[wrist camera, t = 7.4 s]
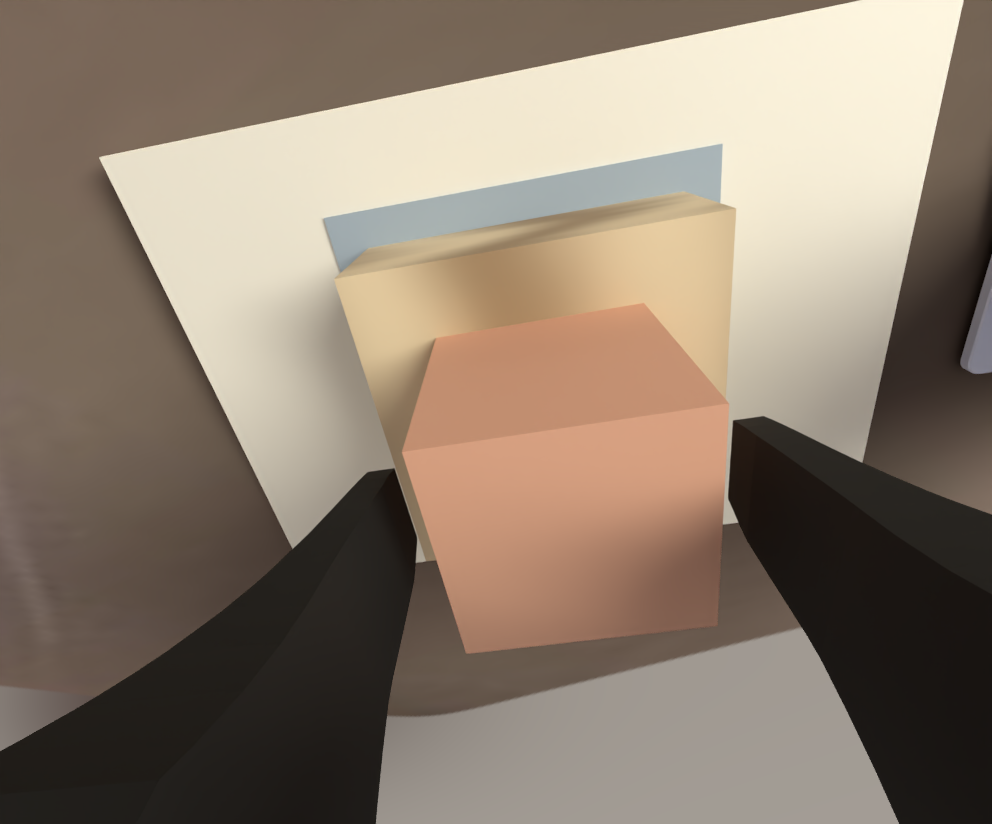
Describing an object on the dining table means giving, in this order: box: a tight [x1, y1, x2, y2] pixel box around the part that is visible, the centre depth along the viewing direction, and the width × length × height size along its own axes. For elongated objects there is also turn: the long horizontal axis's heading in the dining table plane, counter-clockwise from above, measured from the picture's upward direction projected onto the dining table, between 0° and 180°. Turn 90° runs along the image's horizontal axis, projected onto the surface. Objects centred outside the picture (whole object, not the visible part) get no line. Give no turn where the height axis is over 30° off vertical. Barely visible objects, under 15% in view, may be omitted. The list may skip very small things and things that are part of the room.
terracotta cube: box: [402, 303, 729, 654], centre depth 11 cm, size 5×5×5 cm
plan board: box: [99, 0, 963, 563], centre depth 17 cm, size 22×16×1 cm
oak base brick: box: [334, 191, 736, 561], centre depth 15 cm, size 9×9×4 cm
